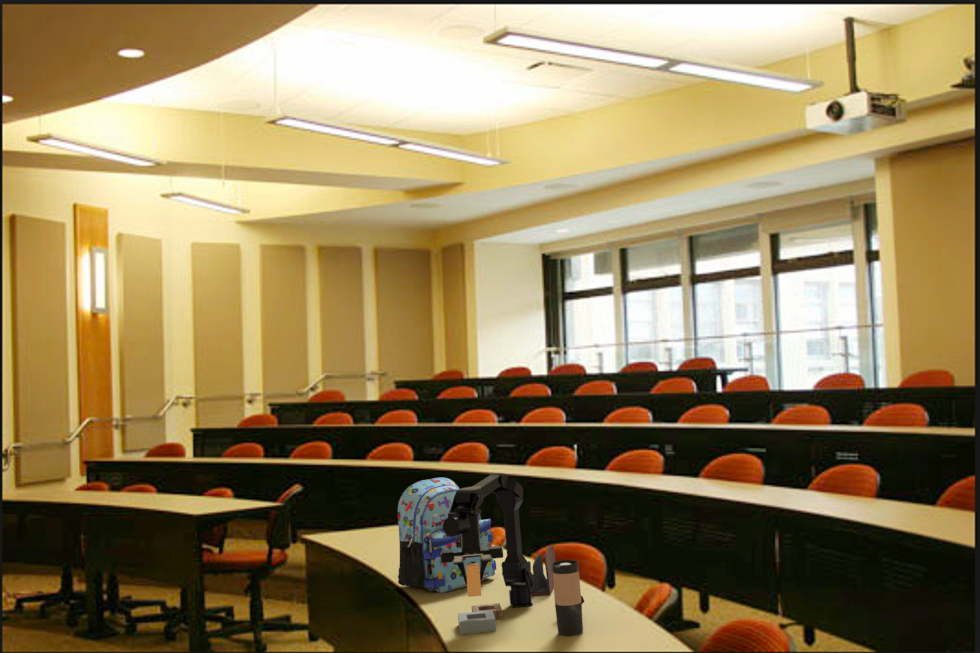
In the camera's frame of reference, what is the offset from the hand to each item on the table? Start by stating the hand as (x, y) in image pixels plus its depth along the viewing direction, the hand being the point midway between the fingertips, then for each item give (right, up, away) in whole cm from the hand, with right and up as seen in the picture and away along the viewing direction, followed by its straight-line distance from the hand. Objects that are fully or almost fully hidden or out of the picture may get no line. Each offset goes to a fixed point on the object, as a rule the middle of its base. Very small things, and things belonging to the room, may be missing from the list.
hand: (473, 583), depth 304 cm
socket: (+1, -13, -1) cm, 13 cm away
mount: (+4, -13, +12) cm, 19 cm away
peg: (0, -4, 0) cm, 4 cm away
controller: (+30, -11, 0) cm, 32 cm away
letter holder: (+22, -14, +44) cm, 51 cm away
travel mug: (+28, -11, -14) cm, 33 cm away
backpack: (-10, -17, +64) cm, 67 cm away
